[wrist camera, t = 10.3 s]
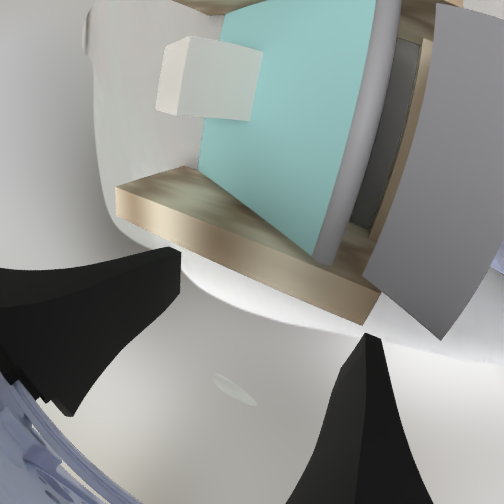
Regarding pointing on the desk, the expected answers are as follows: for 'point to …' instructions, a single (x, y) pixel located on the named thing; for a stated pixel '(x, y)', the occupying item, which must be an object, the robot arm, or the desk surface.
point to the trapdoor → (371, 143)
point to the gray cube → (208, 79)
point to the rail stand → (259, 230)
